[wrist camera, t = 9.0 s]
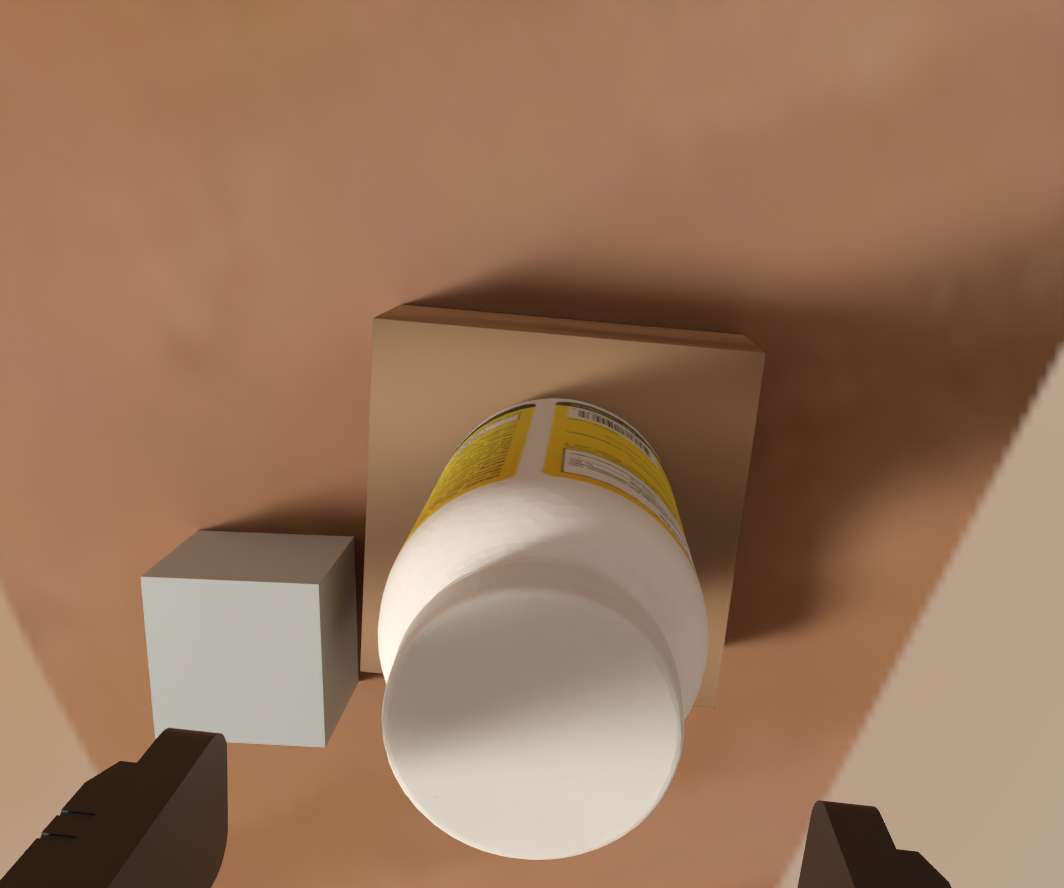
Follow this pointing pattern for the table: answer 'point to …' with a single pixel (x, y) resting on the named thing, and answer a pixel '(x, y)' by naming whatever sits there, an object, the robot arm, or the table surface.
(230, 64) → the table surface
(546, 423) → the pill bottle
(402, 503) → the walnut block
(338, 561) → the slate block
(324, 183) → the table surface
